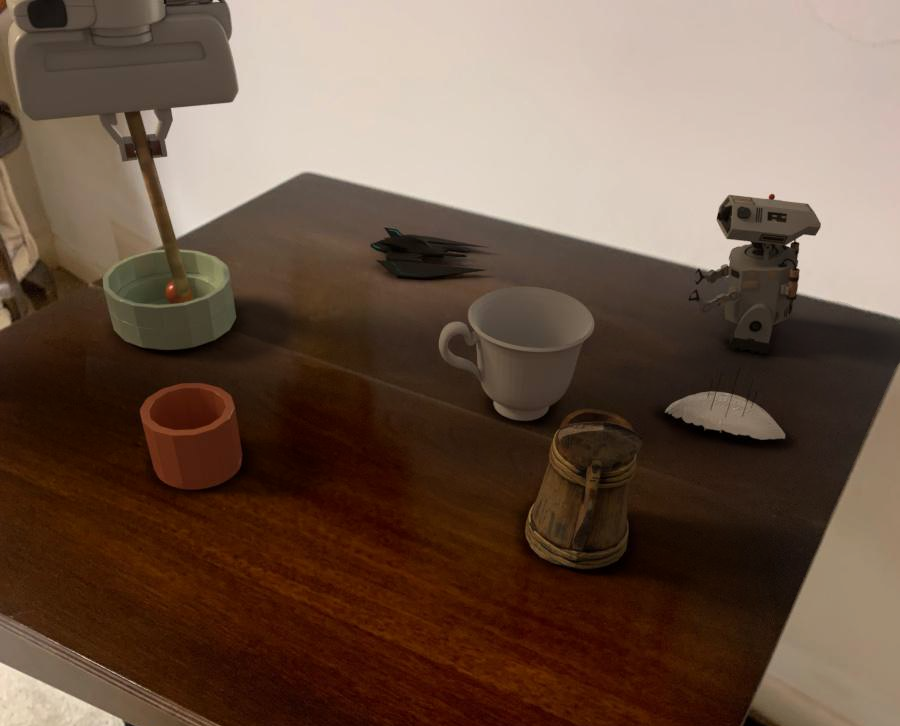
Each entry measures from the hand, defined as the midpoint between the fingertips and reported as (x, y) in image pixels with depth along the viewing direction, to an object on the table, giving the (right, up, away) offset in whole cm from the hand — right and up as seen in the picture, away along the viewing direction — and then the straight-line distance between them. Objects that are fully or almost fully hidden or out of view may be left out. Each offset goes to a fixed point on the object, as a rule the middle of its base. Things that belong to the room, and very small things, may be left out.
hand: (143, 157), depth 88 cm
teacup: (+37, -25, +2) cm, 44 cm away
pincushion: (+58, -27, +1) cm, 64 cm away
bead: (0, -10, +11) cm, 15 cm away
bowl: (0, -13, +11) cm, 17 cm away
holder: (+7, -31, -6) cm, 33 cm away
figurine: (+64, -13, +15) cm, 67 cm away
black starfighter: (+28, -1, +24) cm, 37 cm away
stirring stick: (+1, -10, +10) cm, 15 cm away
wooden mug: (+41, -40, -12) cm, 59 cm away
